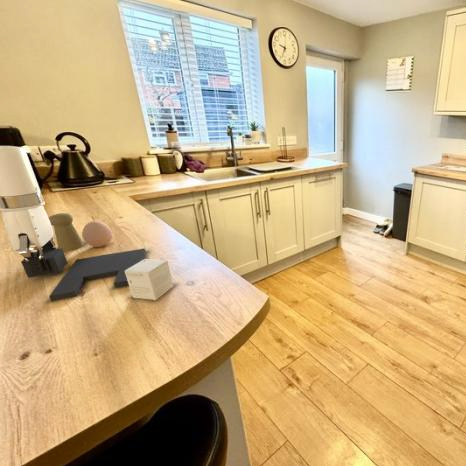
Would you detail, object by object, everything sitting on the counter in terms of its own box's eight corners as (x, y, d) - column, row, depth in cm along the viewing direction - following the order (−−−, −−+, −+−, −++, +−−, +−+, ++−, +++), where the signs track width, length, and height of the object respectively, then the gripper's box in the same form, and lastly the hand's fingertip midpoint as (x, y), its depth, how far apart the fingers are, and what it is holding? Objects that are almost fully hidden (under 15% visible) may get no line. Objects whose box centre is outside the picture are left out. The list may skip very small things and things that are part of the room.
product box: (132, 298, 66) (122, 270, 63) (152, 284, 72) (144, 258, 69) (156, 300, 65) (148, 272, 63) (174, 286, 71) (168, 260, 68)
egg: (85, 252, 87) (75, 227, 84) (88, 244, 93) (79, 220, 90) (114, 247, 91) (106, 222, 88) (116, 239, 97) (108, 216, 93)
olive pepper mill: (62, 245, 92) (49, 212, 88) (86, 242, 95) (75, 210, 91) (55, 252, 87) (41, 218, 83) (81, 249, 90) (68, 215, 86)
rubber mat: (51, 301, 65) (49, 296, 64) (78, 264, 81) (76, 259, 80) (137, 284, 72) (135, 279, 71) (145, 252, 88) (144, 248, 87)
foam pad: (27, 278, 71) (20, 261, 70) (37, 267, 76) (31, 252, 75) (60, 273, 74) (54, 257, 72) (67, 263, 79) (62, 248, 77)
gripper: (15, 193, 74) (41, 256, 80) (-24, 212, 60) (11, 287, 66) (55, 191, 77) (76, 251, 84) (26, 208, 63) (55, 279, 70)
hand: (47, 266), depth 75 cm, fingers closed on foam pad, 6 cm apart
